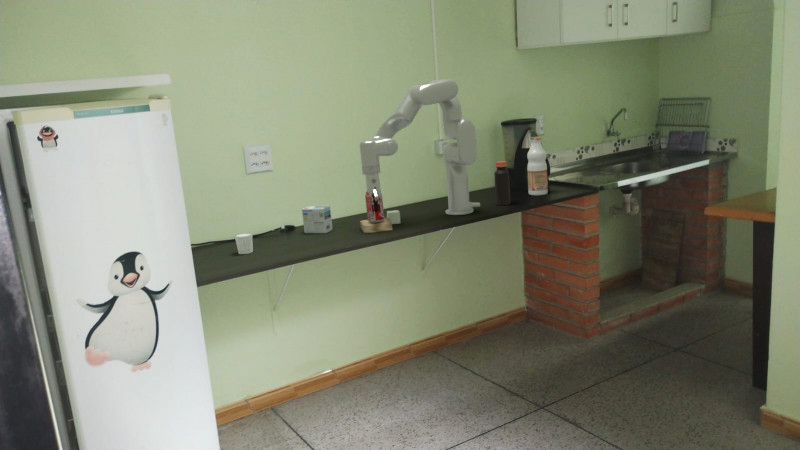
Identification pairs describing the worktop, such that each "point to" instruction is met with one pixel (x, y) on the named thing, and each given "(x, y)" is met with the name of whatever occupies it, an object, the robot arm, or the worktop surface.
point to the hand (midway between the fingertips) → (375, 211)
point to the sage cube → (394, 216)
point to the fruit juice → (537, 168)
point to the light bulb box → (317, 219)
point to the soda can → (376, 216)
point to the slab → (376, 226)
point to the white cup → (244, 243)
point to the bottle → (502, 184)
